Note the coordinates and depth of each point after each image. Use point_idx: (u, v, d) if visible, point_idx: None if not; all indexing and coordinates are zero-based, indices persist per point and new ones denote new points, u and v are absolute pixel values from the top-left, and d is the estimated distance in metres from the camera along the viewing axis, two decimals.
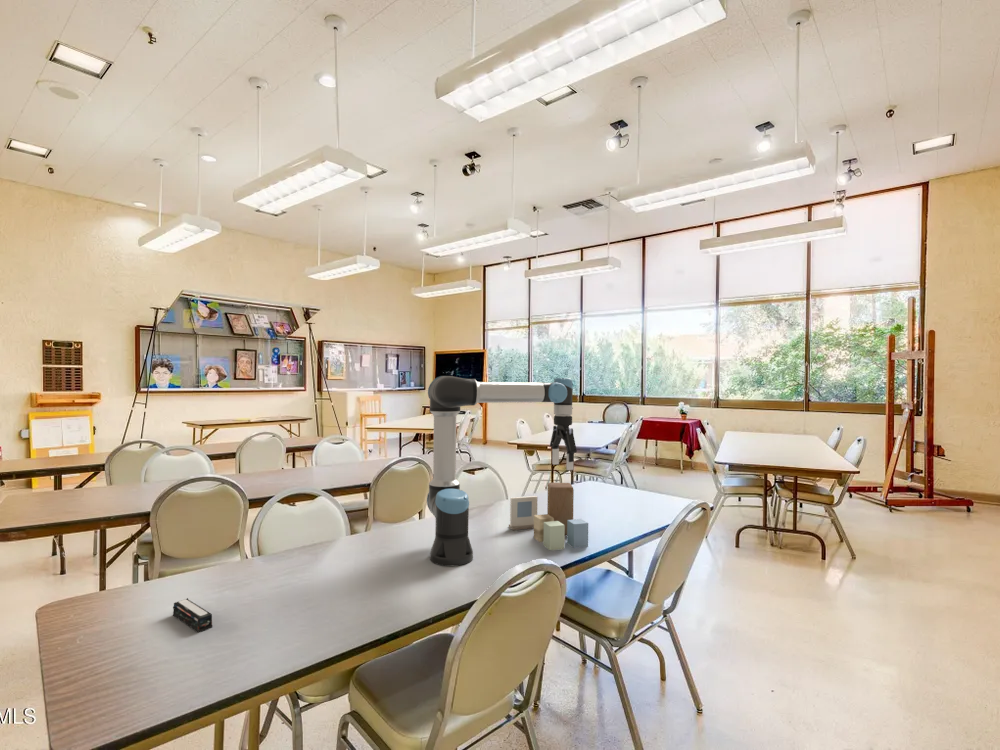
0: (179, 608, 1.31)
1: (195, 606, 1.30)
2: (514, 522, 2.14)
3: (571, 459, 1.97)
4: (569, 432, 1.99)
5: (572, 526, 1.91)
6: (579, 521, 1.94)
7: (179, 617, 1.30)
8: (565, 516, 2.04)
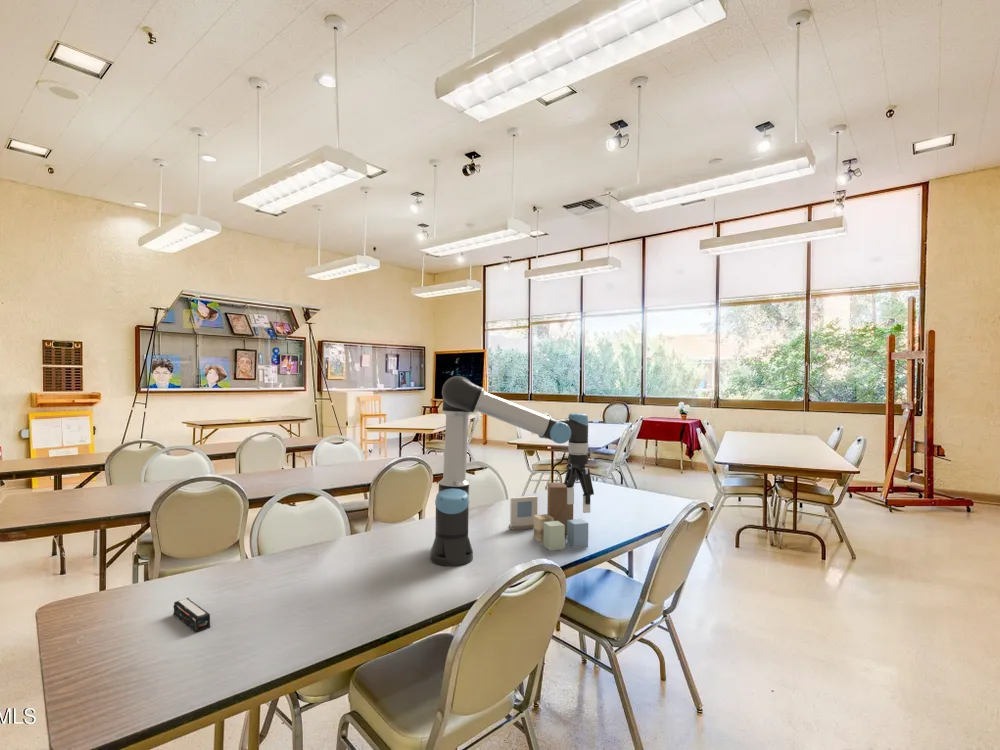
0: (179, 607, 1.31)
1: (194, 606, 1.30)
2: (514, 522, 2.14)
3: (588, 501, 1.86)
4: (585, 472, 1.87)
5: (572, 526, 1.91)
6: (579, 521, 1.94)
7: (179, 616, 1.31)
8: (565, 516, 2.04)
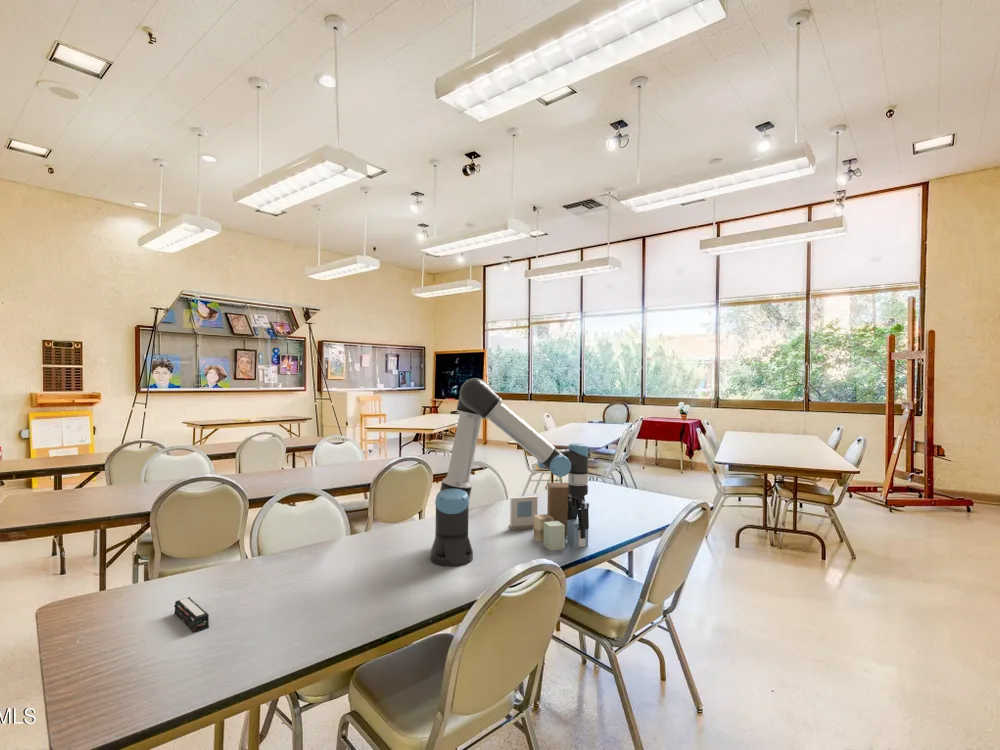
0: (179, 607, 1.31)
1: (194, 605, 1.31)
2: (514, 522, 2.14)
3: (583, 536, 1.89)
4: (584, 508, 1.88)
5: (572, 526, 1.91)
6: None
7: (179, 616, 1.31)
8: (565, 516, 2.04)
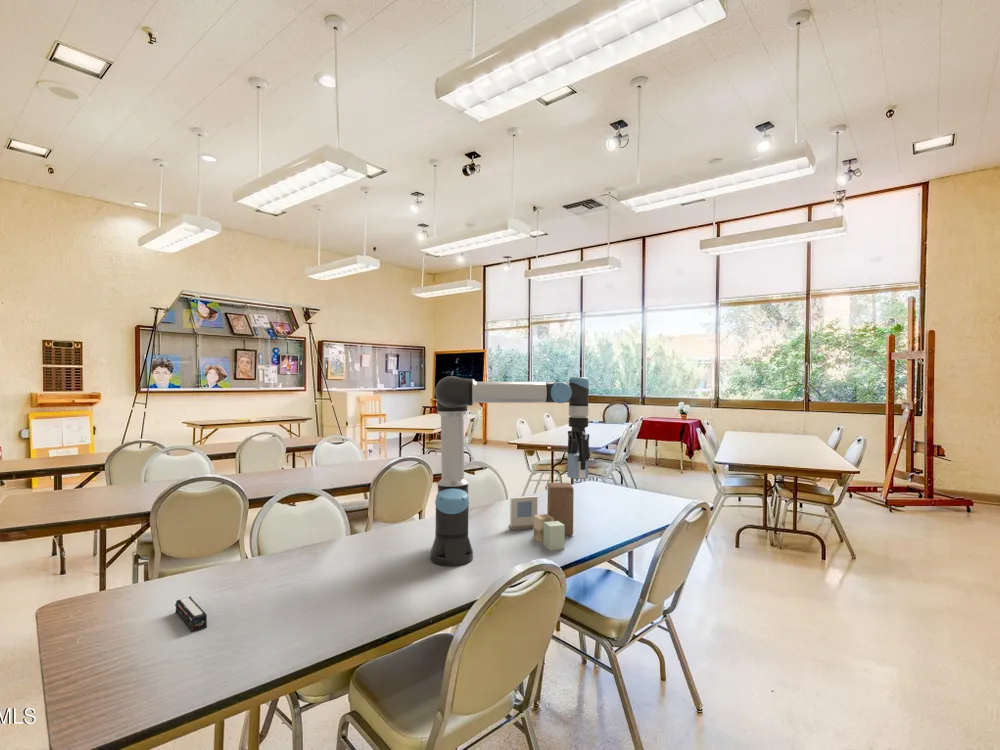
0: (179, 606, 1.32)
1: (194, 605, 1.31)
2: (514, 522, 2.14)
3: (583, 467, 1.89)
4: (585, 438, 1.88)
5: (572, 458, 1.92)
6: None
7: (179, 615, 1.32)
8: (565, 516, 2.04)
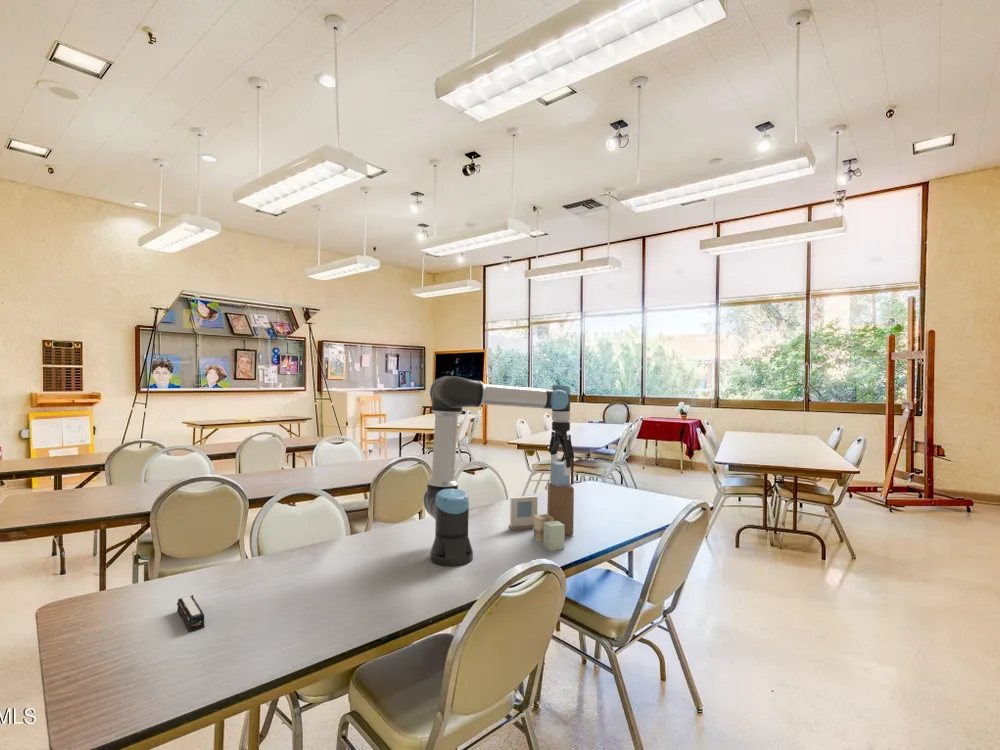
0: (180, 605, 1.32)
1: (193, 604, 1.31)
2: (514, 522, 2.14)
3: (568, 465, 2.02)
4: (567, 438, 2.03)
5: (555, 467, 2.07)
6: (561, 463, 2.09)
7: (180, 614, 1.32)
8: (565, 516, 2.04)
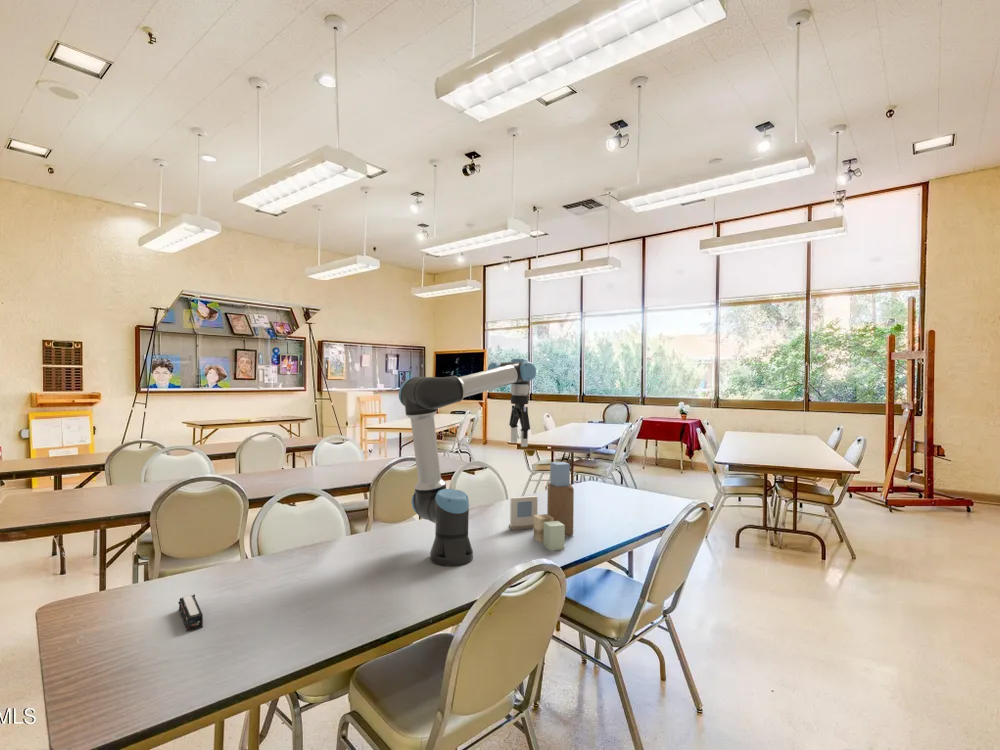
0: (181, 604, 1.33)
1: (193, 604, 1.32)
2: (514, 522, 2.14)
3: (525, 436, 2.06)
4: (524, 410, 2.07)
5: (555, 467, 2.07)
6: (561, 463, 2.09)
7: (181, 613, 1.33)
8: (565, 516, 2.04)
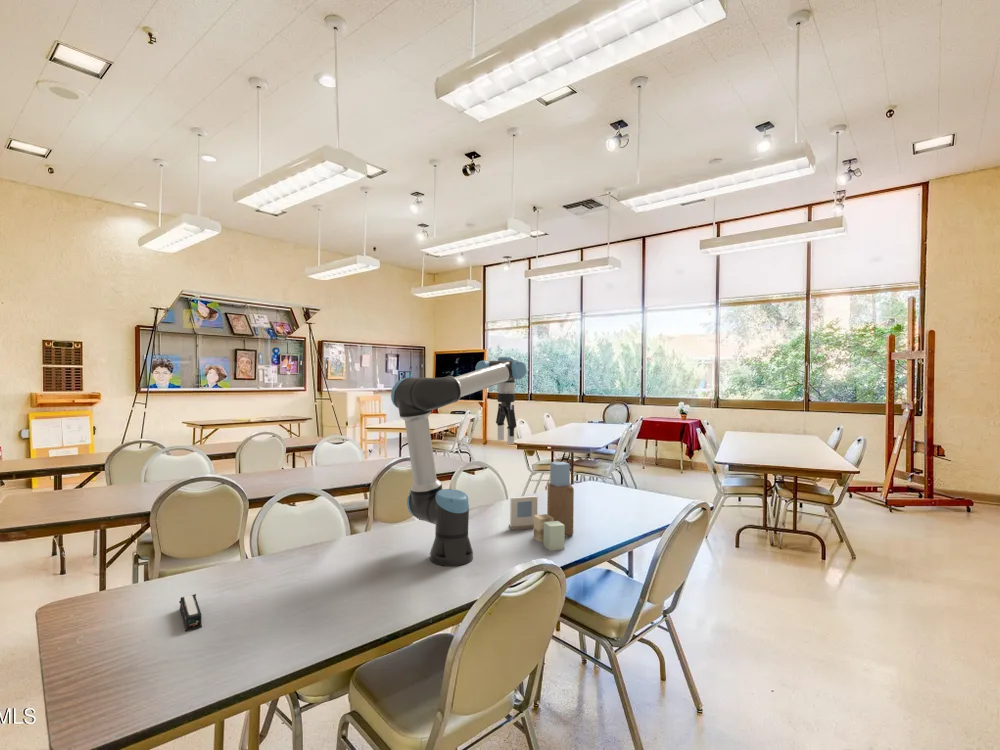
0: (181, 603, 1.33)
1: (193, 604, 1.32)
2: (514, 522, 2.14)
3: (511, 434, 2.08)
4: (510, 408, 2.09)
5: (555, 467, 2.07)
6: (561, 463, 2.09)
7: (181, 612, 1.33)
8: (565, 516, 2.04)
